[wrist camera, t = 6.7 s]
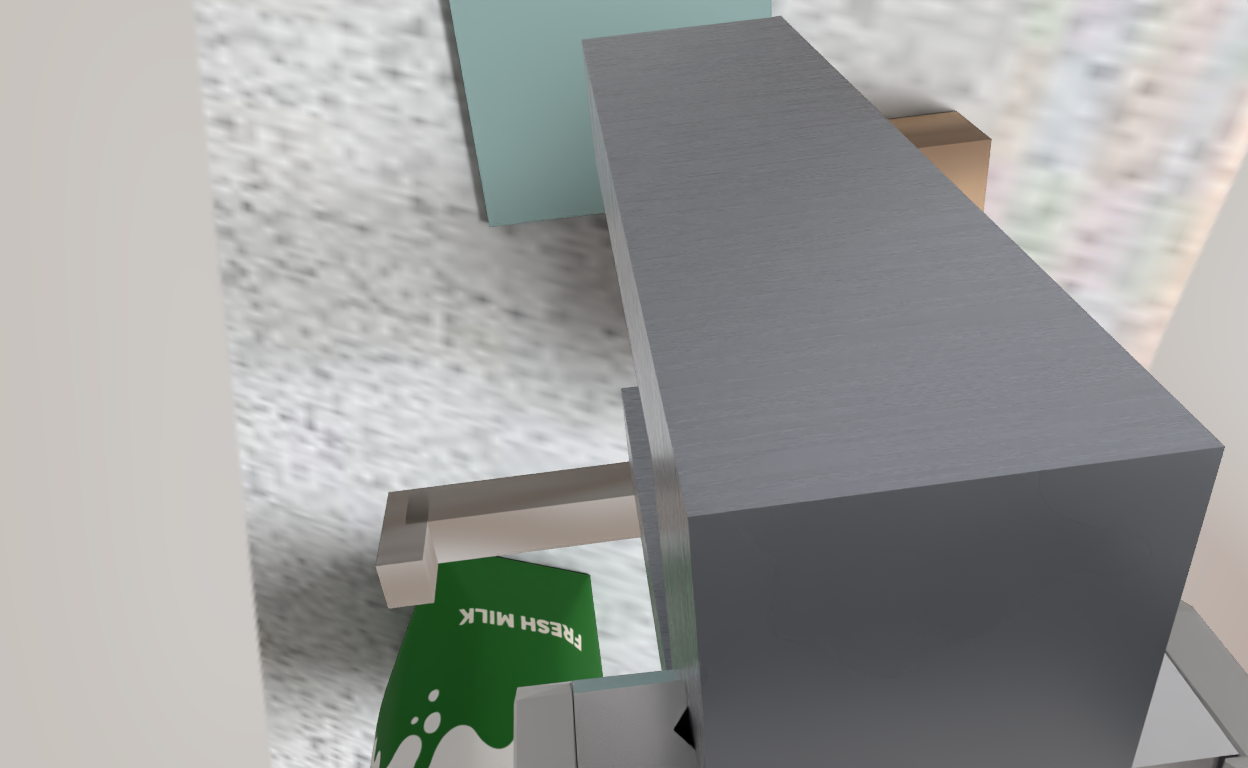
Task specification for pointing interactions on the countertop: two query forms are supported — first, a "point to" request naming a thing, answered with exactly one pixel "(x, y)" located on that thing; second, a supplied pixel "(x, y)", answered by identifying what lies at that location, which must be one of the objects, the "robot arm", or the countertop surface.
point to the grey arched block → (873, 433)
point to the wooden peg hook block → (587, 496)
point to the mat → (551, 92)
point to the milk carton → (482, 661)
